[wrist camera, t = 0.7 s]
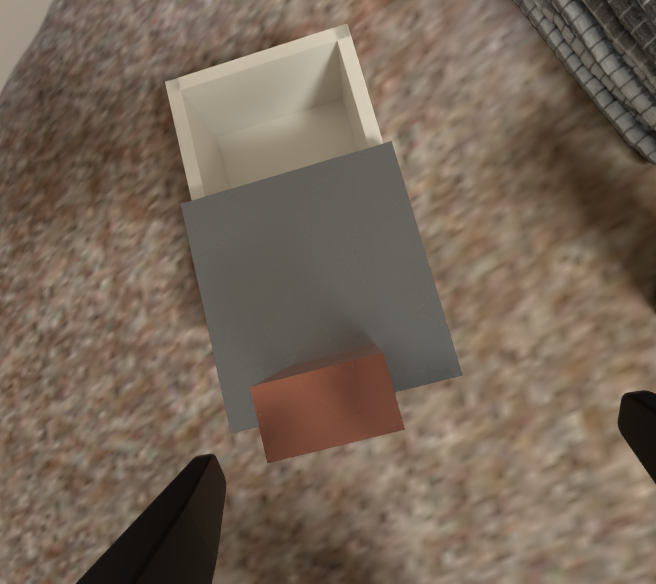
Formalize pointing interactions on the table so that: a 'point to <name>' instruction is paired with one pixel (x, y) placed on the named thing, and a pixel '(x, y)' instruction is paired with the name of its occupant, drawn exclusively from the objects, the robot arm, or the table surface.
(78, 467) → the table surface
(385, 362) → the lid
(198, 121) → the cream open box
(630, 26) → the towel
